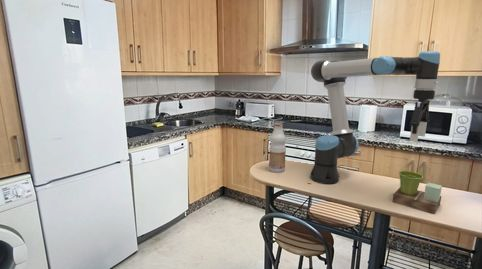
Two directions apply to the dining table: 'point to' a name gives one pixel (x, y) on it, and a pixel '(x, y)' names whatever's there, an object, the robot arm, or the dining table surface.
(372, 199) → the dining table surface
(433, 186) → the sage block
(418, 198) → the walnut board
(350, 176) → the dining table surface
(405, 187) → the plant pot
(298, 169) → the dining table surface
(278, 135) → the fruit juice
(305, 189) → the dining table surface
